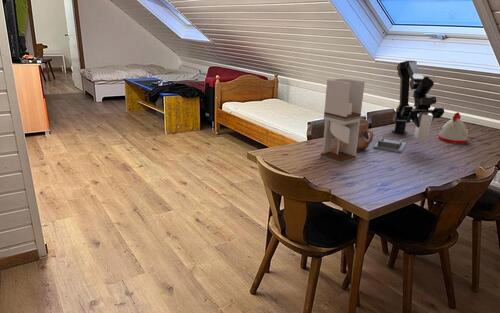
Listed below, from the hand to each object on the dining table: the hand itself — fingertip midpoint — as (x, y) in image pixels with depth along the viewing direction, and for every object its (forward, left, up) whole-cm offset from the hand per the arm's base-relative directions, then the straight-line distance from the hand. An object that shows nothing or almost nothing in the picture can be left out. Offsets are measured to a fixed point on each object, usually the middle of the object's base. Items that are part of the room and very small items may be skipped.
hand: (424, 127), depth 188 cm
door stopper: (+3, -32, -12) cm, 34 cm away
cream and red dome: (-35, +3, -12) cm, 37 cm away
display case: (+40, -21, -12) cm, 47 cm away
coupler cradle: (+3, -14, -12) cm, 19 cm away
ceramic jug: (+21, -24, -12) cm, 34 cm away
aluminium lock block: (-1, -1, -7) cm, 7 cm away
